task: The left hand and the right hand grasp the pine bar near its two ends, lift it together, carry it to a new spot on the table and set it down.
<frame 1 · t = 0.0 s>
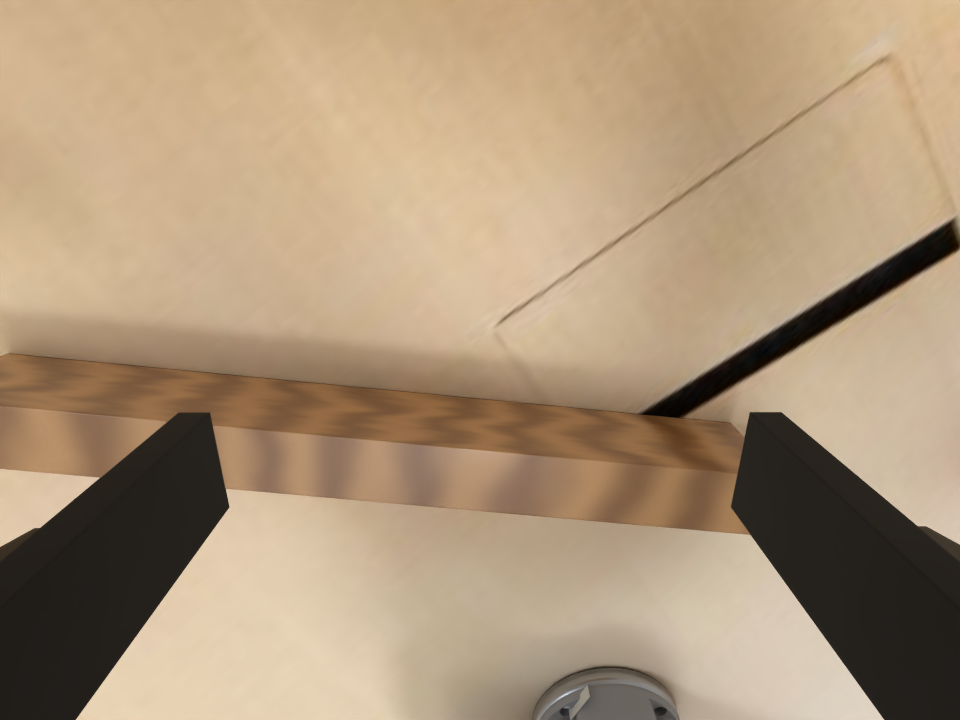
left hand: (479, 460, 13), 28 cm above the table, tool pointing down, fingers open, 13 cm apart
bar: (377, 416, 44), on the table
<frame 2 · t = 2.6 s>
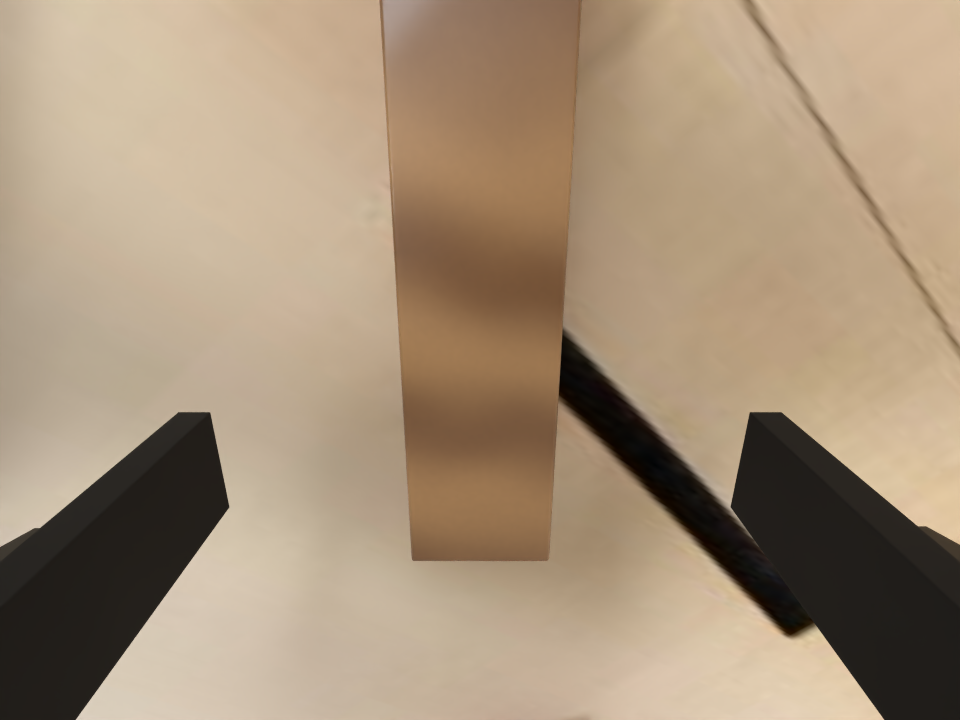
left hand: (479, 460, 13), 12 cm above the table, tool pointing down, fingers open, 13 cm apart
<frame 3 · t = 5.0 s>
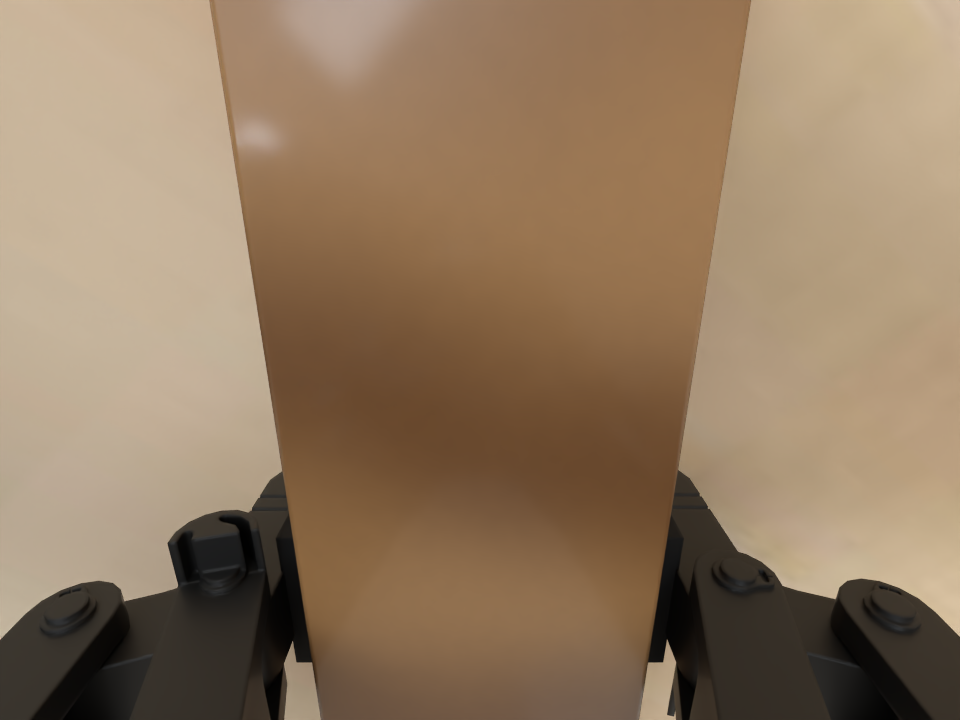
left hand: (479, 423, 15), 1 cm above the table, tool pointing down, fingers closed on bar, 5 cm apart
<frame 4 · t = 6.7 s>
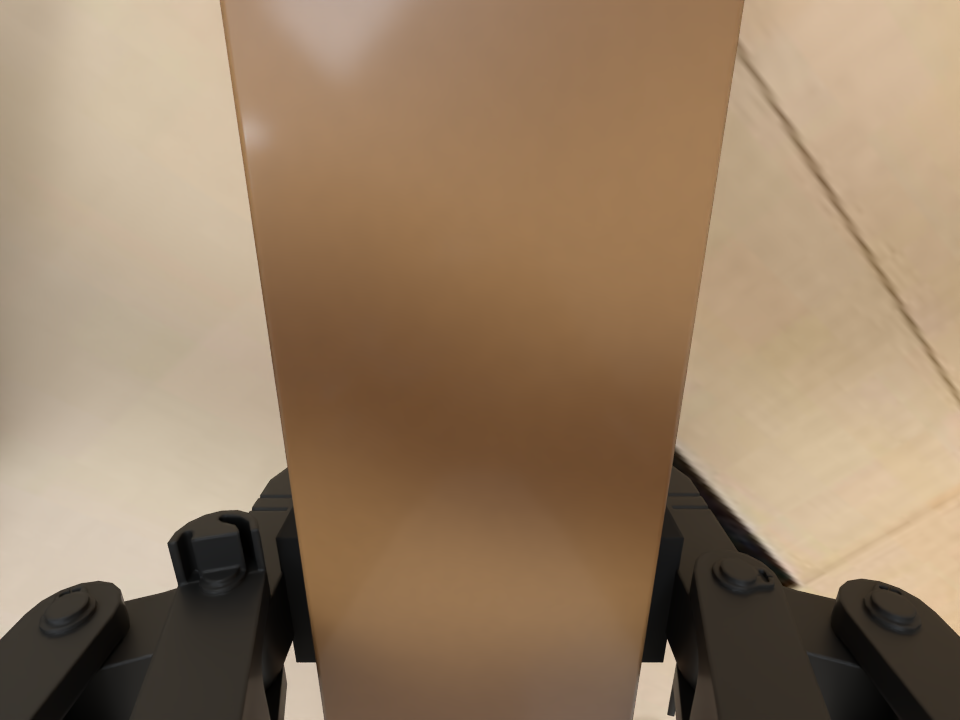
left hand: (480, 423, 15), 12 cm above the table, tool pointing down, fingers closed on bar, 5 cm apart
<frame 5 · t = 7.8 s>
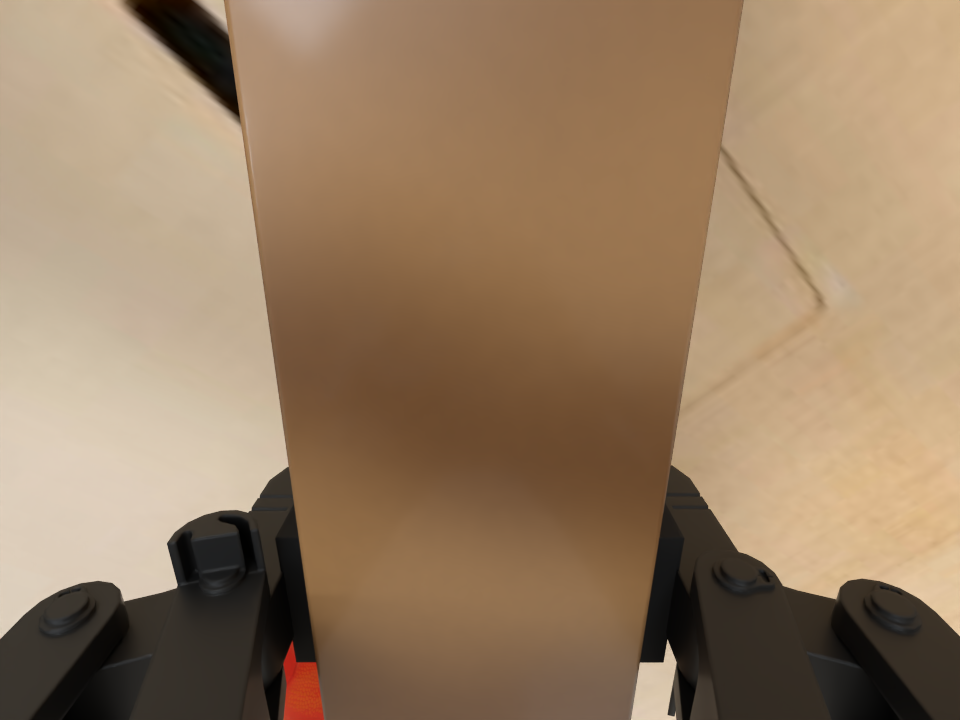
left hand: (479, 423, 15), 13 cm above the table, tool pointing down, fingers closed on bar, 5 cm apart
fish: (377, 629, 35), on the table
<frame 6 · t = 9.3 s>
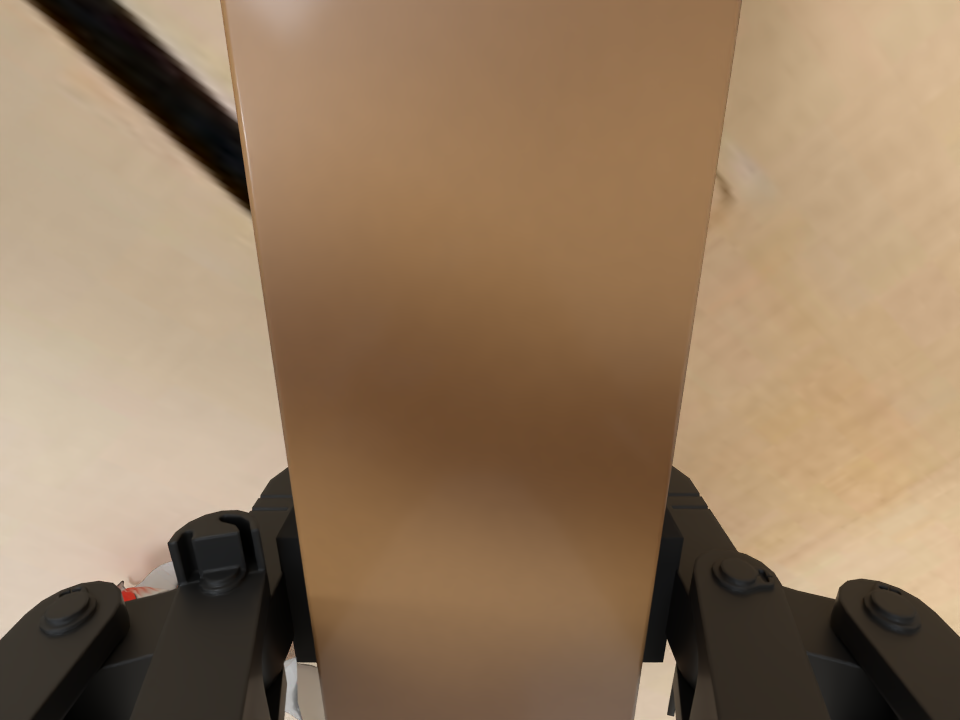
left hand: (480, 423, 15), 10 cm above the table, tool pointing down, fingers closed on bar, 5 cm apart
fish: (236, 606, 30), on the table
when the left hand's fingers open (2 cm above the table, at t = 10.6 s): bar drops 1 cm, on the table.
when the right hand's fingers open (5 cm above the table, at t = 10.7 s): bar stays where it is, on the table.
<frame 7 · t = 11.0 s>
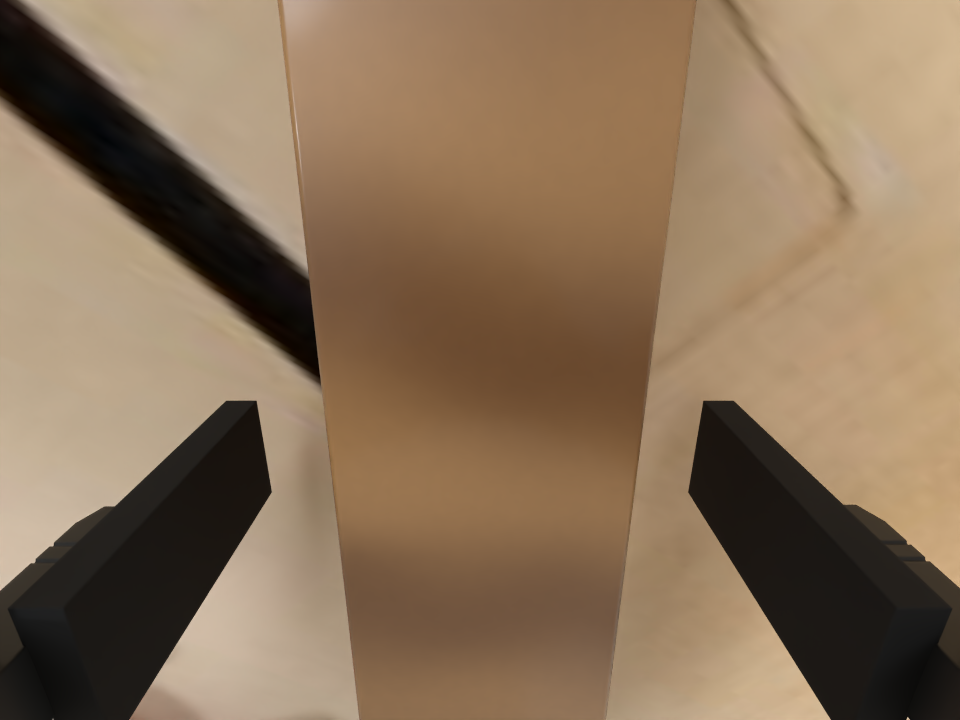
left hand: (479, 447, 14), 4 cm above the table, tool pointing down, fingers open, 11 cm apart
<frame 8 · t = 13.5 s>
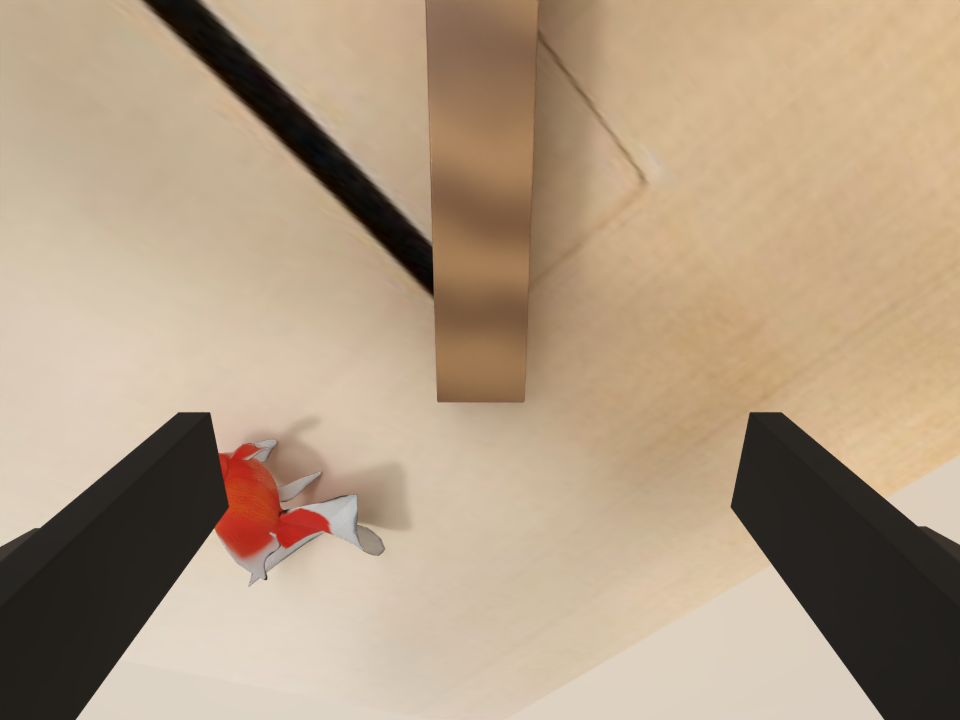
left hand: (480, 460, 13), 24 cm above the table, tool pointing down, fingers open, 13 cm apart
fish: (305, 478, 41), on the table
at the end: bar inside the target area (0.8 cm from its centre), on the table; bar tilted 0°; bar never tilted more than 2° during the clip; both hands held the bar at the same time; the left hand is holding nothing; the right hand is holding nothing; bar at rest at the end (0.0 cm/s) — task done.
